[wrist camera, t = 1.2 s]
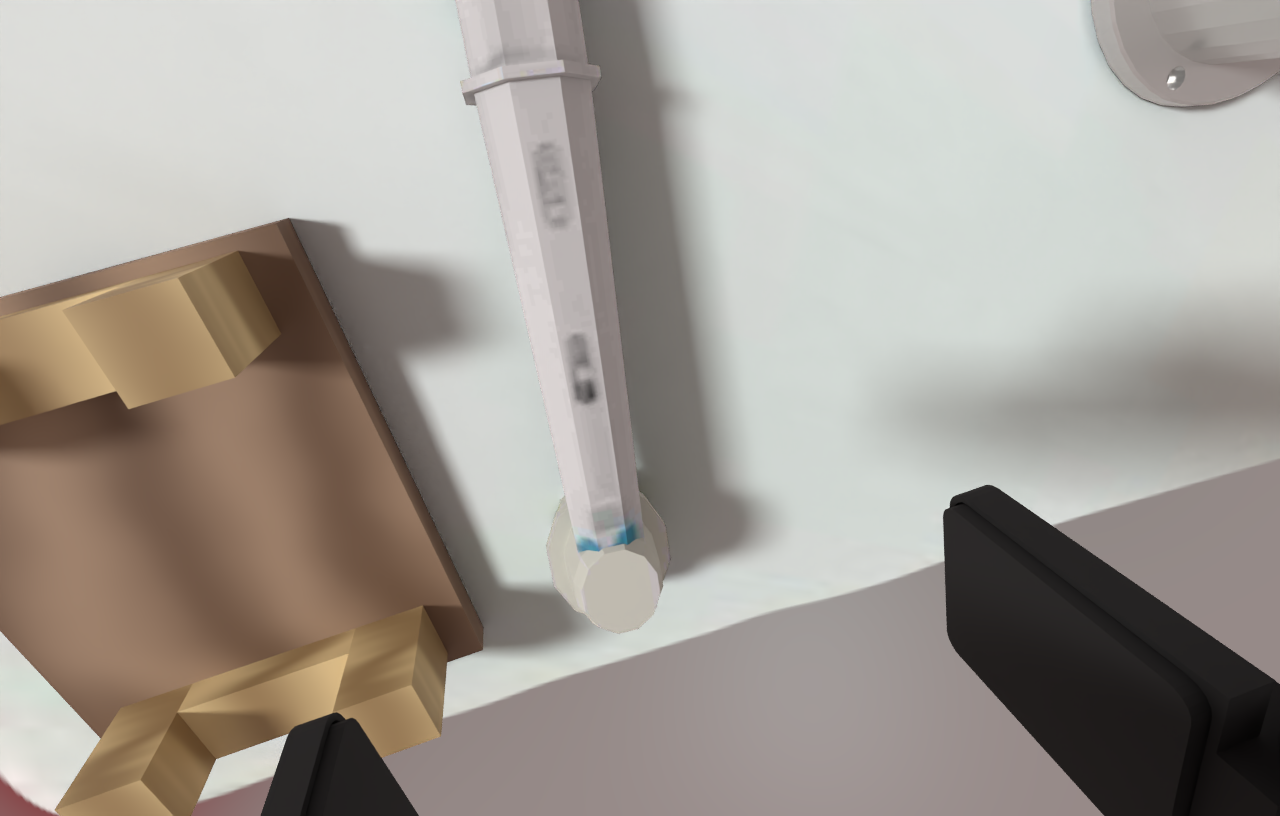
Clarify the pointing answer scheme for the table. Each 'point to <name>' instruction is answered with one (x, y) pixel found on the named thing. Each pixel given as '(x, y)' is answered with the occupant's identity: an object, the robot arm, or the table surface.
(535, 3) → the electric toothbrush handle
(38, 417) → the rack
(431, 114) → the table surface
